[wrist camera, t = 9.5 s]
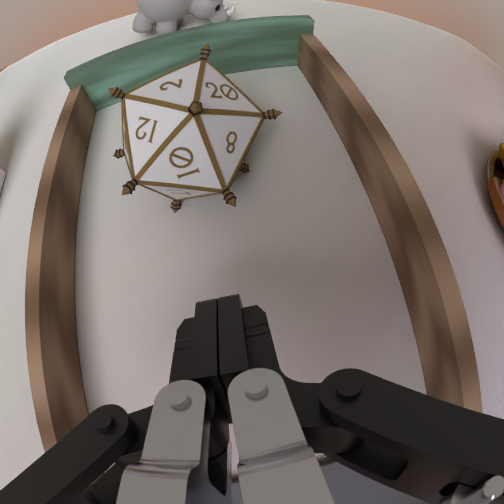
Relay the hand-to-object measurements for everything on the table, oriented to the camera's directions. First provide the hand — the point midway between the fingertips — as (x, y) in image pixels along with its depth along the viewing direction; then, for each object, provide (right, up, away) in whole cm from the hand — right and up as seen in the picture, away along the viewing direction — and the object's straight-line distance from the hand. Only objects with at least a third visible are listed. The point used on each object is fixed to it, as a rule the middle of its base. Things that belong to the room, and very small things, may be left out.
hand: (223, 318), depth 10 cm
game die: (-2, +7, +8) cm, 11 cm away
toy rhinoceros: (-7, +30, +17) cm, 35 cm away
